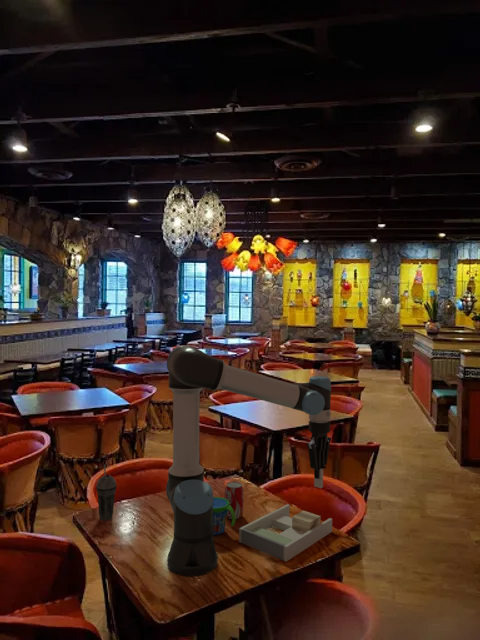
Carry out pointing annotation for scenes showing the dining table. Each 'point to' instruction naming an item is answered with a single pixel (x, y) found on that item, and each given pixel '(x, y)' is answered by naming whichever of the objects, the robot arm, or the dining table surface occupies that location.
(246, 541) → the trap box
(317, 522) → the beech block
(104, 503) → the beverage cup
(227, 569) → the dining table surface
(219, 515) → the snack cup
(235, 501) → the soda can
